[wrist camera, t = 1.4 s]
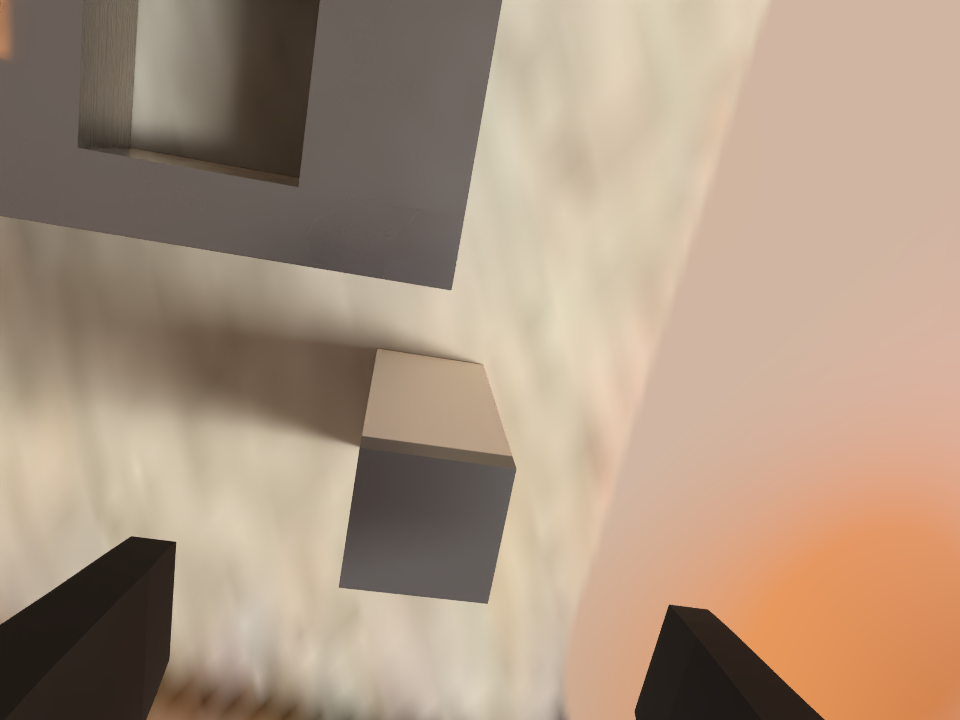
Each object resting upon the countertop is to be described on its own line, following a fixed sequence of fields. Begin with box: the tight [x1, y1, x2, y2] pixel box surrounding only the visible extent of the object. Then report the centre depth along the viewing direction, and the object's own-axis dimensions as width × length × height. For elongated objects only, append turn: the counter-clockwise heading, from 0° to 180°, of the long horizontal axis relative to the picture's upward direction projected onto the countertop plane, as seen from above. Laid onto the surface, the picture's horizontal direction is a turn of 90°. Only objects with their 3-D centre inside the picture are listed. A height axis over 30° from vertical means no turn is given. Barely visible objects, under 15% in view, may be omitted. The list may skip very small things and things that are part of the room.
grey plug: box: [339, 349, 516, 604], centre depth 18 cm, size 3×3×7 cm
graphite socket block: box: [0, 0, 502, 290], centre depth 16 cm, size 8×12×4 cm, turn 80°
